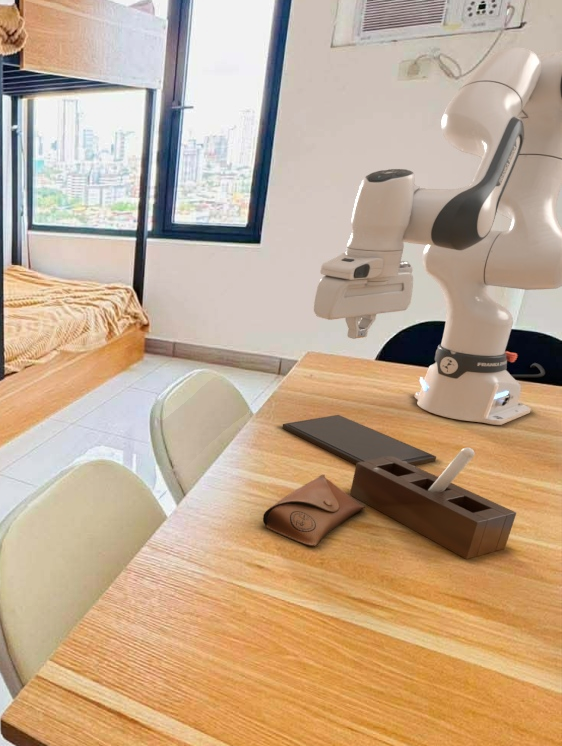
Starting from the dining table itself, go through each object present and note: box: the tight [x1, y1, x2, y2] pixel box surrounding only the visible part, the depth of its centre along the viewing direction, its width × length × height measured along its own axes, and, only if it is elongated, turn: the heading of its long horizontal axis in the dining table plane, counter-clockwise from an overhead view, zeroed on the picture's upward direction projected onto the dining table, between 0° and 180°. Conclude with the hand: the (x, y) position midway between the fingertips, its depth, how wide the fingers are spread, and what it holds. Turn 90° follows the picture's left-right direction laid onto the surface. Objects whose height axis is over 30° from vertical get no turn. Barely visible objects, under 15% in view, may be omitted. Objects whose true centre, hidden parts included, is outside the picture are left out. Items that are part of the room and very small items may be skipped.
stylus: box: [428, 447, 476, 494], centre depth 94 cm, size 2×2×15 cm
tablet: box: [281, 414, 437, 466], centre depth 124 cm, size 15×22×1 cm
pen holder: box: [349, 456, 517, 560], centre depth 97 cm, size 8×19×6 cm, turn 18°
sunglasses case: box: [262, 474, 366, 547], centre depth 98 cm, size 18×7×7 cm
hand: (356, 337), depth 119 cm, fingers closed
